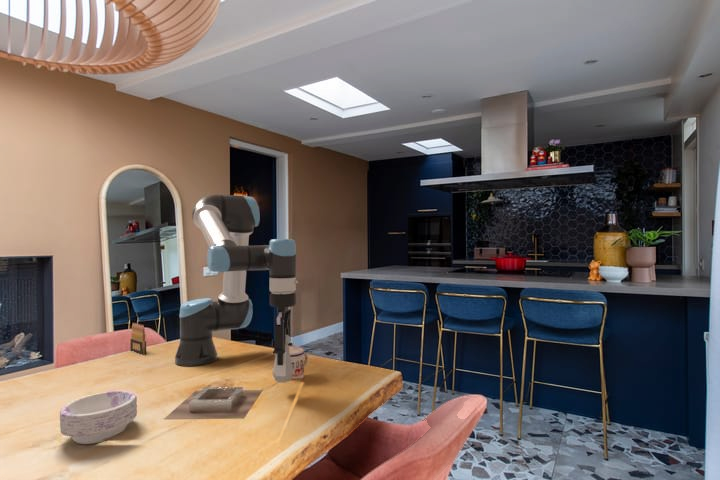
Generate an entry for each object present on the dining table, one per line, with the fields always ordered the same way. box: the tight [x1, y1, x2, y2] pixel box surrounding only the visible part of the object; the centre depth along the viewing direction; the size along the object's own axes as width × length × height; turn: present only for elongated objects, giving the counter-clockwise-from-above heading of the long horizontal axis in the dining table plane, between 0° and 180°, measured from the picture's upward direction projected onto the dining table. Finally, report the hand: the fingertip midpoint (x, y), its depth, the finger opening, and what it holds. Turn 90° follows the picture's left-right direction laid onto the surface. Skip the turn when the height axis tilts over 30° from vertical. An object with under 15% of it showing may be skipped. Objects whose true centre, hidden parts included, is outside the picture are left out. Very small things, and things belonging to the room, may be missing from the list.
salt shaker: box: [272, 335, 293, 384], centre depth 118 cm, size 6×6×13 cm
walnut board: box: [163, 389, 263, 420], centre depth 112 cm, size 20×20×1 cm
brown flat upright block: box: [129, 322, 147, 355], centre depth 172 cm, size 11×2×12 cm, turn 52°
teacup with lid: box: [290, 342, 309, 380], centre depth 137 cm, size 12×9×12 cm
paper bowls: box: [59, 390, 138, 445], centre depth 96 cm, size 15×15×8 cm
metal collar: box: [189, 386, 244, 412], centre depth 112 cm, size 11×11×2 cm
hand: (282, 371), depth 118 cm, fingers closed on salt shaker, 6 cm apart
